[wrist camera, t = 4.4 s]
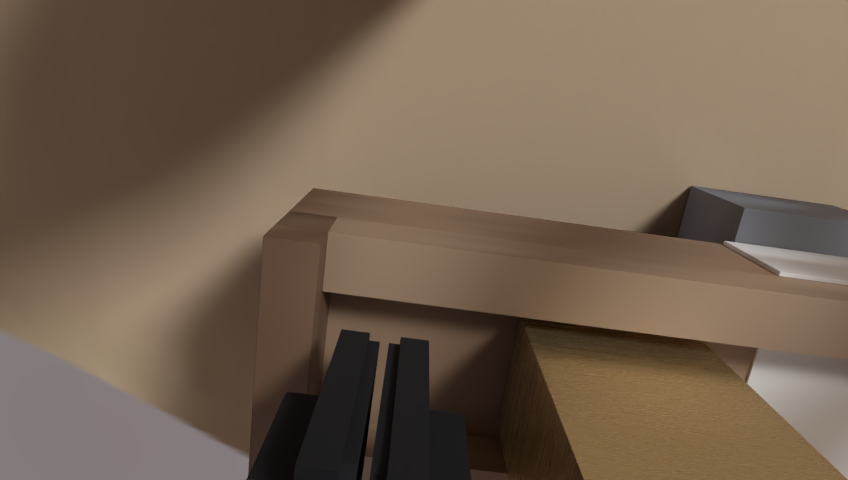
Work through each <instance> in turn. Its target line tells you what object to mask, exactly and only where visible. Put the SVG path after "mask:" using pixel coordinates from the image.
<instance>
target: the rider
mask: <svg viewBox="0 0 848 480" xmlns="http://www.w3.org/2000/svg"><path fill="white" fill-rule="evenodd" d="M498 431H499V436H500V441H501V446H502V451H503V456H504V461H505V466H506V471H507V476H508V480H848V479H847V478H846V477H845V476H843V475H842V474H841V473H840V472H839V471H838V470H837V469H836V468H835V467H834V466H833V465H832V464H831V463H830V462H829V461H828V460H827V459H826V458H825V457H824V456H823V455H821V454H820V453H819V452H818V451H817V450H816V449H815V448H814V447H813V446H812V445H811V444H810V443H809V442H808V441H807V440H806V439H805V438H804V437H803V436H802V435H801V434H799V433H798V432H797V431H796V430H795V429H794V428H793V427H792V426H791V425H790V424H789V423H788V422H787V421H786V420H785V419H784V418H783V417H782V416H781V415H780V414H779V413H777V412H776V411H775V410H774V409H773V408H772V407H771V406H770V405H769V404H768V403H767V402H766V401H765V400H764V399H763V398H762V397H761V396H760V395H759V394H758V393H757V392H755V391H754V390H753V389H752V388H751V387H750V386H749V385H748V384H747V383H746V382H745V381H744V380H743V379H742V378H741V377H740V376H739V375H738V374H737V373H736V372H735V371H733V370H732V369H731V368H730V367H729V366H728V365H727V364H726V363H725V362H724V361H723V360H722V359H721V358H720V357H719V356H718V355H717V354H716V353H715V352H714V351H713V350H711V349H710V348H709V347H708V346H707V345H706V344H705V343H704V342H703V341H700V340H692V339H684V338H677V337H669V336H661V335H654V334H646V333H638V332H631V331H623V330H615V329H608V328H600V327H592V326H585V325H577V324H569V323H562V322H554V321H547V320H539V319H531V318H524V317H520V322H519V327H518V332H517V337H516V342H515V347H514V352H513V357H512V362H511V367H510V372H509V377H508V382H507V387H506V392H505V397H504V402H503V407H502V412H501V417H500V422H499V427H498Z"/></svg>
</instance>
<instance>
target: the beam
mask: <svg viewBox="0 0 848 480" xmlns="http://www.w3.org/2000/svg"><path fill="white" fill-rule="evenodd" d="M520 317H524V318H531V319H539V320H547V321H554V322H562V323H569V324H577V325H585V326H592V327H600V328H608V329H615V330H623V331H631V332H638V333H646V334H654V335H661V336H669V337H677V338H684V339H692V340H700V341H703V342H704V343H705V344H706V345H707V346H708V347H709V348H710V349H711V350H713V351H714V352H715V353H716V354H717V355H718V356H719V357H720V358H721V359H722V360H723V361H724V362H725V363H726V364H727V365H728V366H729V367H730V368H731V369H732V370H733V371H735V372H736V373H737V374H738V375H739V376H740V377H741V378H742V379H743V380H744V381H745V382H746V383H747V384H748V385H749V386H750V387H751V388H752V389H753V390H754V391H755V392H757V393H758V394H759V395H760V396H761V397H762V398H763V399H764V400H765V401H766V402H767V403H768V404H769V405H770V406H771V407H772V408H773V409H774V410H775V411H776V412H777V413H779V414H780V415H781V416H782V417H783V418H784V419H785V420H786V421H787V422H788V423H789V424H790V425H791V426H792V427H793V428H794V429H795V430H796V431H797V432H798V433H799V434H801V435H802V436H803V437H804V438H805V439H806V440H807V441H808V442H809V443H810V444H811V445H812V446H813V447H814V448H815V449H816V450H817V451H818V452H819V453H820V454H821V455H823V456H824V457H825V458H826V459H827V460H828V461H829V462H830V463H831V464H832V465H833V466H834V467H835V468H836V469H837V470H838V471H839V472H840V473H841V474H842V475H843V476H845V477H846V478H847V479H848V210H845V209H842V208H838V207H835V206H832V205H824V204H817V203H810V202H803V201H796V200H788V199H781V198H774V197H767V196H760V195H753V194H745V193H738V192H731V191H724V190H717V189H709V188H702V187H695V186H691V189H690V193H689V197H688V200H687V204H686V208H685V211H684V215H683V219H682V222H681V226H680V230H679V234H678V237H677V238H675V237H668V236H660V235H653V234H646V233H638V232H631V231H624V230H616V229H609V228H602V227H594V226H587V225H579V224H572V223H565V222H557V221H550V220H543V219H535V218H528V217H521V216H513V215H506V214H499V213H491V212H484V211H477V210H469V209H462V208H455V207H447V206H440V205H433V204H425V203H418V202H411V201H403V200H396V199H389V198H381V197H374V196H367V195H359V194H352V193H345V192H337V191H330V190H323V189H315V188H313V189H312V190H311V191H310V192H309V193H308V194H307V195H306V196H305V197H304V198H303V199H302V200H301V201H300V202H299V203H298V204H296V205H295V206H294V207H293V208H292V209H291V210H290V211H289V212H288V213H287V214H286V215H285V216H284V217H283V218H282V219H281V220H280V221H279V222H278V223H277V224H276V225H275V226H273V227H272V228H271V229H270V230H269V231H268V232H267V233H266V234H265V235H264V236H263V247H262V264H261V280H260V296H259V312H258V328H257V344H256V361H255V377H254V393H253V409H252V425H251V441H250V457H249V473H250V471H251V469H252V467H253V464H254V462H255V460H256V458H257V455H258V453H259V451H260V449H261V447H262V444H263V442H264V440H265V438H266V435H267V433H268V431H269V429H270V426H271V424H272V422H273V420H274V418H275V415H276V413H277V411H278V409H279V406H280V404H281V402H282V400H283V398H284V396H285V394H286V392H296V393H304V394H312V395H319V394H320V391H321V388H322V385H323V382H324V379H325V376H326V373H327V370H328V367H329V364H330V361H331V359H332V356H333V353H334V350H335V347H336V344H337V341H338V338H339V335H340V332H341V330H342V329H345V330H352V331H360V332H367V333H370V339H369V340H370V341H378V342H380V346H379V354H378V361H377V369H376V377H375V384H374V392H373V399H372V407H371V415H370V422H369V430H368V437H367V445H366V453H365V460H364V468H363V474H362V480H369V479H370V472H371V464H372V457H373V450H374V443H375V436H376V430H377V423H378V416H379V409H380V402H381V395H382V388H383V381H384V374H385V367H386V360H387V353H388V346H389V343H393V344H400V339H401V337H406V338H413V339H421V340H428V341H429V396H430V410H438V411H446V412H454V413H462V414H463V415H464V419H465V427H466V436H467V445H468V454H469V463H470V472H471V480H508V476H507V471H506V466H505V461H504V456H503V451H502V446H501V441H500V436H499V431H498V427H499V422H500V417H501V412H502V407H503V402H504V397H505V392H506V387H507V382H508V377H509V372H510V367H511V362H512V357H513V352H514V347H515V342H516V337H517V332H518V327H519V322H520Z"/></svg>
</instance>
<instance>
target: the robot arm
mask: <svg viewBox="0 0 848 480" xmlns="http://www.w3.org/2000/svg"><path fill="white" fill-rule="evenodd" d="M369 339H370V333H367V332H360V331H352V330H345V329H342V330H341V332H340V335H339V338H338V341H337V344H336V347H335V350H334V353H333V356H332V359H331V361H330V364H329V367H328V370H327V373H326V376H325V379H324V382H323V385H322V388H321V391H320V394H319V395H312V394H304V393H296V392H286V394H285V396H284V398H283V400H282V402H281V404H280V406H279V409H278V411H277V413H276V415H275V418H274V420H273V422H272V424H271V426H270V429H269V431H268V433H267V435H266V438H265V440H264V442H263V444H262V447H261V449H260V451H259V453H258V455H257V458H256V460H255V462H254V464H253V467H252V469H251V471H250V473H249V475H248V478H247V480H362V474H363V468H364V460H365V453H366V445H367V437H368V430H369V422H370V415H371V407H372V399H373V392H374V384H375V377H376V369H377V361H378V354H379V346H380V342H378V341H370V340H369ZM369 480H471V472H470V463H469V454H468V445H467V436H466V427H465V419H464V415H463V414H462V413H454V412H446V411H438V410H430V396H429V341H428V340H421V339H413V338H406V337H401V339H400V344H393V343H389V346H388V353H387V360H386V367H385V374H384V381H383V388H382V395H381V402H380V409H379V416H378V423H377V430H376V436H375V443H374V450H373V457H372V464H371V472H370V479H369Z"/></svg>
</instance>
